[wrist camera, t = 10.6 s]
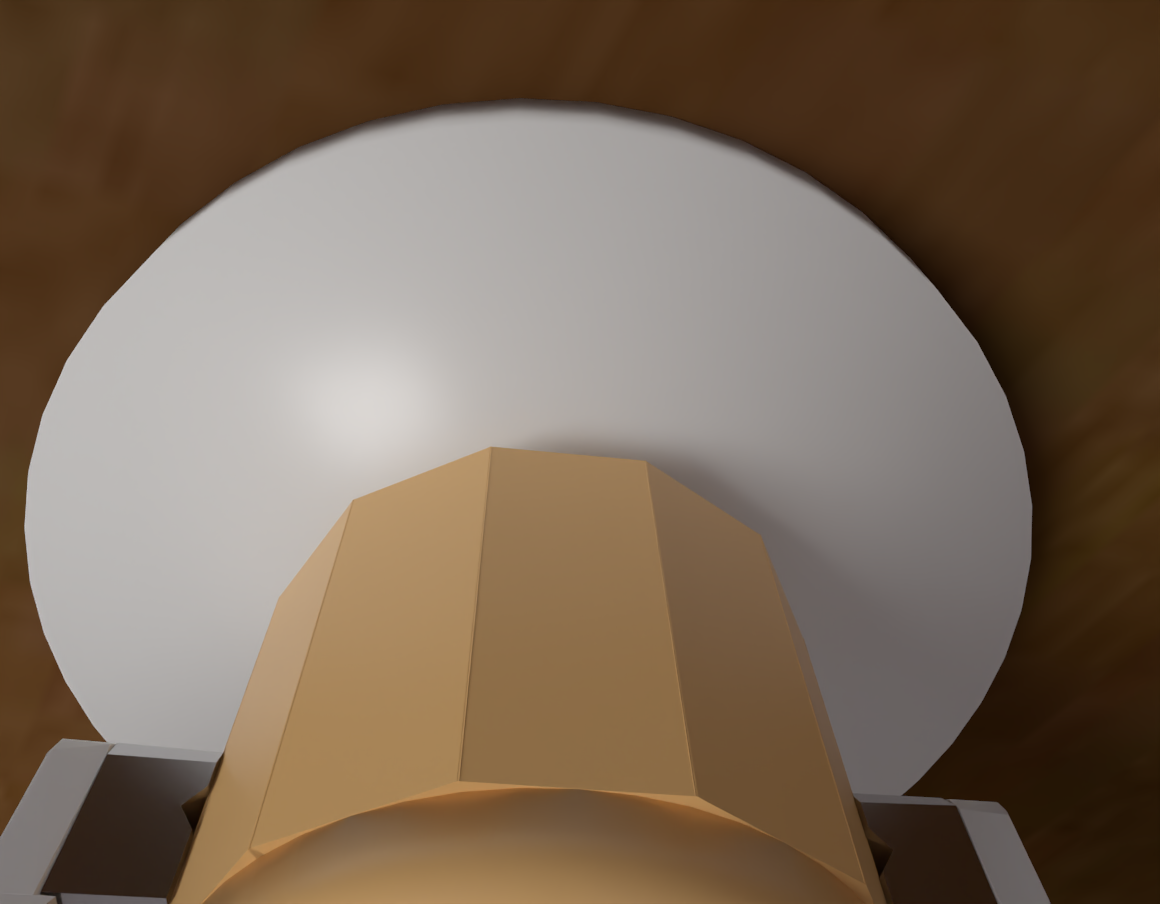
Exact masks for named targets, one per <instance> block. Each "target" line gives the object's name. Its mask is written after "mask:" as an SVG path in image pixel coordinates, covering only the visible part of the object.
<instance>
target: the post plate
mask: <svg viewBox="0 0 1160 904" xmlns="http://www.w3.org/2000/svg"><path fill="white" fill-rule="evenodd" d="M491 446H492V447H501V448H512V449H523V450H534V451H545V452H556V453H567V454H578V455H588V456H599V457H610V458H621V459H632V460H643V461H647V462H648V463H650V464H652V465H653V466H655V467H656V468H658V469H659V470H661V471H662V472H664V473H665V474H667V475H669V476H670V477H672V478H673V479H675V480H676V481H678V482H679V483H681V484H682V485H684V486H686V487H687V488H689V489H690V490H692V491H693V492H695V493H696V494H698V495H699V496H701V497H703V498H704V499H706V500H707V501H709V502H710V503H712V504H713V505H715V506H716V507H718V508H720V509H721V510H723V511H724V512H726V513H727V514H729V515H730V516H732V517H733V518H735V519H737V520H738V521H740V522H741V523H743V524H744V525H746V526H747V527H749V528H750V529H752V530H754V531H755V532H757V533H758V534H760V535H761V536H762V540H763V542H764V545H765V547H766V549H767V552H768V554H769V557H770V559H771V562H772V564H773V566H774V569H775V571H776V574H777V576H778V578H779V581H780V583H781V586H782V588H783V591H784V593H785V595H786V598H787V600H788V603H789V605H790V608H791V610H792V612H793V615H794V617H795V620H796V622H797V625H798V627H799V629H800V632H801V634H802V637H803V638H804V641H805V644H806V648H807V651H808V654H809V657H810V660H811V663H812V667H813V670H814V673H815V676H816V679H817V682H818V686H819V689H820V692H821V695H822V698H823V701H824V705H825V708H826V711H827V714H828V717H829V720H830V724H831V727H832V730H833V733H834V736H835V739H836V743H837V746H838V749H839V752H840V755H841V758H842V762H843V765H844V768H845V771H846V774H847V777H848V781H849V784H850V787H851V790H852V793H858V794H877V795H895V796H901V795H903V794H904V793H905V792H906V791H907V790H908V789H909V788H911V787H912V786H913V785H914V784H915V783H916V782H918V781H919V780H920V778H921V777H922V776H923V775H924V774H925V773H926V772H927V771H928V770H929V769H930V768H931V766H932V765H933V764H934V763H935V762H936V761H937V760H938V759H939V758H940V757H941V756H942V754H943V753H944V752H945V751H946V750H947V749H948V748H949V747H950V746H951V745H952V743H953V742H954V741H955V739H956V738H957V736H958V735H959V734H960V732H961V731H962V729H963V728H964V727H965V725H966V724H967V722H968V721H969V719H970V718H971V717H972V715H973V714H974V712H975V711H976V710H977V708H978V707H979V705H980V704H981V702H982V701H983V699H984V697H985V695H986V693H987V691H988V689H989V687H990V685H991V683H992V681H993V680H994V678H995V676H996V674H997V672H998V670H999V668H1000V666H1001V664H1002V662H1003V660H1004V658H1005V656H1006V653H1007V650H1008V647H1009V644H1010V642H1011V639H1012V636H1013V633H1014V630H1015V627H1016V624H1017V622H1018V619H1019V616H1020V613H1021V610H1022V605H1023V600H1024V594H1025V589H1026V583H1027V578H1028V573H1029V567H1030V562H1031V535H1032V502H1031V495H1030V488H1029V482H1028V475H1027V468H1026V461H1025V455H1024V450H1023V447H1022V444H1021V441H1020V438H1019V434H1018V431H1017V428H1016V425H1015V422H1014V419H1013V416H1012V413H1011V410H1010V407H1009V404H1008V401H1007V398H1006V395H1005V394H1004V392H1003V390H1002V388H1001V386H1000V384H999V382H998V380H997V378H996V377H995V375H994V373H993V371H992V369H991V367H990V365H989V363H988V361H987V359H986V358H985V356H984V354H983V352H982V350H981V348H980V346H979V344H978V342H977V341H976V340H975V338H974V337H973V336H972V335H971V333H970V332H969V331H968V329H967V328H966V327H965V325H964V324H963V323H962V321H961V320H960V319H959V317H958V316H957V315H956V314H955V312H954V311H953V310H952V308H951V307H950V306H949V304H948V303H947V302H946V300H945V299H944V298H943V296H942V295H941V294H940V293H939V291H938V290H937V289H936V288H935V286H934V285H933V284H932V283H931V282H930V281H929V279H928V278H927V277H926V276H925V275H924V274H923V272H922V271H921V270H920V269H919V268H918V267H917V265H916V264H915V263H914V262H913V261H912V260H911V258H910V257H909V256H908V255H907V254H906V253H905V252H904V251H903V250H901V249H900V248H899V247H898V246H897V245H896V244H895V243H894V242H893V241H892V240H891V239H890V238H889V237H888V236H887V235H886V234H885V233H884V232H883V231H882V230H881V229H879V228H878V227H877V226H876V225H875V224H874V223H873V222H872V221H871V220H870V219H869V218H868V217H867V216H866V215H865V214H864V213H863V212H862V211H860V210H859V209H857V208H856V207H854V206H853V205H852V204H850V203H849V202H847V201H846V200H844V199H843V198H842V197H840V196H839V195H837V194H836V193H834V192H833V191H832V190H830V189H829V188H827V187H826V186H824V185H823V184H822V183H820V182H819V181H817V180H816V179H815V178H813V177H812V176H810V175H809V174H807V173H806V172H804V171H802V170H800V169H798V168H796V167H794V166H792V165H790V164H788V163H786V162H784V161H782V160H780V159H778V158H776V157H774V156H772V155H770V154H768V153H766V152H764V151H762V150H760V149H758V148H756V147H754V146H752V145H750V144H748V143H746V142H744V141H742V140H740V139H737V138H734V137H731V136H728V135H725V134H722V133H719V132H716V131H713V130H710V129H707V128H704V127H701V126H698V125H695V124H692V123H689V122H686V121H683V120H680V119H677V118H674V117H671V116H666V115H661V114H656V113H651V112H645V111H640V110H635V109H629V108H624V107H619V106H614V105H608V104H603V103H598V102H583V101H564V100H545V99H526V98H515V99H503V100H491V101H479V102H467V103H455V104H443V105H438V106H434V107H429V108H425V109H420V110H416V111H411V112H407V113H402V114H398V115H393V116H389V117H384V118H380V119H375V120H371V121H367V122H364V123H362V124H359V125H356V126H354V127H351V128H348V129H346V130H343V131H340V132H338V133H335V134H333V135H330V136H327V137H325V138H322V139H319V140H317V141H314V142H311V143H309V144H306V145H303V146H301V147H298V148H296V149H295V150H293V151H291V152H289V153H287V154H285V155H284V156H282V157H280V158H278V159H276V160H275V161H273V162H271V163H269V164H267V165H266V166H264V167H262V168H260V169H258V170H257V171H255V172H253V173H251V174H249V175H247V176H246V177H244V178H242V179H240V180H238V181H237V182H235V183H234V184H233V185H231V186H230V187H229V188H227V189H226V190H225V191H223V192H222V193H221V194H220V195H218V196H217V197H216V198H214V199H213V200H212V201H210V202H209V203H208V204H207V205H205V206H204V207H203V208H201V209H200V210H199V211H197V212H196V213H195V214H194V215H192V216H191V217H190V218H188V219H187V220H186V221H184V222H183V223H182V224H181V225H180V226H179V227H178V228H177V229H176V230H175V231H174V232H173V233H172V234H171V235H170V236H169V237H168V239H167V240H166V241H165V242H164V243H163V244H162V245H161V246H160V247H159V248H158V249H157V250H156V251H155V252H154V253H153V254H152V255H151V256H150V257H149V258H148V259H147V260H146V262H145V263H144V264H143V265H142V266H141V267H140V268H139V269H138V270H137V271H136V272H135V273H134V274H133V275H132V276H131V277H130V278H129V279H128V281H127V282H126V283H125V284H124V285H123V286H122V287H121V288H120V289H119V290H118V291H117V292H116V293H115V294H114V295H113V296H112V297H111V298H110V300H109V301H108V302H107V303H106V304H105V305H104V306H103V307H102V309H101V310H100V312H99V313H98V315H97V316H96V318H95V319H94V321H93V322H92V324H91V325H90V327H89V328H88V330H87V331H86V333H85V334H84V336H83V337H82V339H81V340H80V342H79V343H78V345H77V346H76V348H75V349H74V351H73V352H72V353H71V355H70V356H69V358H68V359H67V362H66V364H65V366H64V368H63V371H62V373H61V375H60V377H59V379H58V382H57V384H56V386H55V388H54V391H53V393H52V395H51V397H50V400H49V402H48V404H47V406H46V409H45V411H44V413H43V415H42V419H41V423H40V427H39V431H38V435H37V439H36V443H35V447H34V451H33V455H32V459H31V463H30V467H29V471H28V484H27V498H26V513H25V527H24V528H25V538H26V548H27V558H28V567H29V577H30V584H31V587H32V591H33V595H34V598H35V602H36V606H37V610H38V613H39V617H40V621H41V624H42V628H43V632H44V634H45V637H46V639H47V641H48V643H49V646H50V648H51V650H52V652H53V655H54V657H55V659H56V661H57V664H58V666H59V668H60V670H61V673H62V675H63V677H64V679H65V681H66V683H67V685H68V686H69V688H70V689H71V691H72V693H73V694H74V696H75V697H76V699H77V700H78V702H79V704H80V705H81V707H82V708H83V710H84V712H85V713H86V715H87V716H88V718H89V720H90V721H91V723H92V724H93V726H94V727H95V728H96V729H97V731H98V732H99V733H100V734H101V735H102V737H103V738H104V739H105V740H106V741H107V743H125V744H136V745H147V746H158V747H169V748H179V749H190V750H201V751H212V752H224V749H225V746H226V744H227V741H228V738H229V735H230V732H231V730H232V727H233V724H234V721H235V718H236V716H237V713H238V710H239V707H240V705H241V702H242V699H243V696H244V693H245V691H246V688H247V685H248V682H249V679H250V677H251V674H252V671H253V668H254V666H255V663H256V660H257V657H258V654H259V652H260V649H261V646H262V643H263V640H264V638H265V635H266V632H267V629H268V627H269V624H270V621H271V618H272V615H273V613H274V610H275V607H276V604H277V601H278V599H279V597H280V596H281V594H282V593H283V592H284V590H285V589H286V588H287V586H288V585H289V584H290V582H291V581H292V580H293V578H294V577H295V576H296V575H297V573H298V572H299V571H300V569H301V568H302V567H303V565H304V564H305V563H306V561H307V560H308V559H309V557H310V556H311V555H312V553H313V552H314V551H315V549H316V548H317V547H318V546H319V544H320V543H321V542H322V540H323V539H324V538H325V536H326V535H327V534H328V532H329V531H330V530H331V528H332V527H333V526H334V524H335V523H336V522H337V520H338V519H339V518H340V517H341V515H342V514H343V513H344V511H345V510H346V509H347V507H348V506H349V505H350V503H351V502H352V500H353V499H357V498H359V497H362V496H364V495H367V494H370V493H372V492H375V491H377V490H380V489H382V488H385V487H388V486H390V485H393V484H395V483H398V482H401V481H403V480H406V479H408V478H411V477H414V476H416V475H419V474H421V473H424V472H426V471H429V470H432V469H434V468H437V467H439V466H442V465H445V464H447V463H450V462H452V461H455V460H457V459H460V458H463V457H465V456H468V455H470V454H473V453H476V452H478V451H481V450H483V449H486V448H489V447H491Z"/></svg>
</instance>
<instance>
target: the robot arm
mask: <svg viewBox="0 0 1160 904" xmlns="http://www.w3.org/2000/svg"><path fill="white" fill-rule="evenodd" d="M223 754H224V753H223V752H212V751H201V750H190V749H179V748H169V747H158V746H147V745H136V744H125V743H107V742H96V741H84V740H72V739H61V740H60V741H59V742H58V743H57V744H56V745H55V746H54V747H53V748H52V749H51V750H50V751H49V752H48V753H47V755H46V756H45V758H44V760H43V762H42V763H41V765H40V767H39V769H38V771H37V772H36V774H35V776H34V778H33V780H32V781H31V783H30V785H29V787H28V789H27V790H26V792H25V794H24V796H23V798H22V799H21V801H20V803H19V805H18V807H17V808H16V810H15V812H14V814H13V816H12V817H11V819H10V821H9V823H8V825H7V826H6V828H5V830H4V832H3V834H2V835H1V837H0V904H169V903H170V900H171V897H172V895H173V892H174V889H175V887H176V884H177V881H178V879H179V876H180V873H181V870H182V868H183V865H184V862H185V860H186V857H187V854H188V851H189V849H190V846H191V843H192V840H193V836H194V833H195V830H196V827H197V824H198V822H199V819H200V816H201V813H202V810H203V808H204V805H205V802H206V799H207V797H208V795H209V793H210V790H211V787H212V784H213V782H214V779H215V776H216V773H217V770H218V768H219V765H220V762H221V760H222V757H223ZM853 797H854V800H855V804H856V807H857V810H858V813H859V817H860V820H861V823H862V826H863V830H864V833H865V836H866V838H867V841H868V844H869V847H870V850H871V853H872V857H873V860H874V863H875V866H876V869H877V872H878V876H879V880H880V884H881V887H882V890H883V893H884V896H885V899H886V902H887V904H1051V903H1050V901H1049V898H1048V896H1047V894H1046V892H1045V890H1044V888H1043V886H1042V884H1041V882H1040V880H1039V878H1038V875H1037V873H1036V871H1035V869H1034V867H1033V865H1032V863H1031V861H1030V859H1029V857H1028V855H1027V852H1026V850H1025V848H1024V846H1023V844H1022V842H1021V840H1020V838H1019V836H1018V834H1017V832H1016V829H1015V827H1014V825H1013V823H1012V821H1011V819H1010V817H1009V815H1008V813H1007V811H1006V810H1005V809H1004V808H1003V807H1002V806H1001V805H1000V804H999V803H998V802H987V801H971V800H955V799H947V800H944V799H942V798H932V797H914V796H895V795H877V794H858V793H853Z"/></svg>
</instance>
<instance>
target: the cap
mask: <svg viewBox="0 0 1160 904" xmlns="http://www.w3.org/2000/svg"><path fill="white" fill-rule="evenodd" d="M223 753H224V754H223V757H222V760H221V762H220V765H219V768H218V770H217V773H216V776H215V779H214V782H213V784H212V787H211V790H210V793H209V795H208V797H207V799H206V802H205V805H204V808H203V810H202V813H201V816H200V819H199V822H198V824H197V827H196V830H195V833H194V836H193V840H192V843H191V846H190V849H189V851H188V854H187V857H186V860H185V862H184V865H183V868H182V870H181V873H180V876H179V879H178V881H177V884H176V887H175V889H174V892H173V895H172V897H171V900H170V903H169V904H887V902H886V899H885V896H884V893H883V890H882V887H881V884H880V880H879V876H878V872H877V869H876V866H875V863H874V860H873V857H872V853H871V850H870V847H869V844H868V841H867V838H866V836H865V833H864V830H863V826H862V823H861V820H860V817H859V813H858V810H857V807H856V804H855V800H854V797H853V793H852V790H851V787H850V784H849V781H848V777H847V774H846V771H845V768H844V765H843V762H842V758H841V755H840V752H839V749H838V746H837V743H836V739H835V736H834V733H833V730H832V727H831V724H830V720H829V717H828V714H827V711H826V708H825V705H824V701H823V698H822V695H821V692H820V689H819V686H818V682H817V679H816V676H815V673H814V670H813V667H812V663H811V660H810V657H809V654H808V651H807V648H806V644H805V641H804V638H803V637H802V634H801V632H800V629H799V627H798V625H797V622H796V620H795V617H794V615H793V612H792V610H791V608H790V605H789V603H788V600H787V598H786V595H785V593H784V591H783V588H782V586H781V583H780V581H779V578H778V576H777V574H776V571H775V569H774V566H773V564H772V562H771V559H770V557H769V554H768V552H767V549H766V547H765V545H764V542H763V540H762V536H761V535H760V534H758V533H757V532H755V531H754V530H752V529H750V528H749V527H747V526H746V525H744V524H743V523H741V522H740V521H738V520H737V519H735V518H733V517H732V516H730V515H729V514H727V513H726V512H724V511H723V510H721V509H720V508H718V507H716V506H715V505H713V504H712V503H710V502H709V501H707V500H706V499H704V498H703V497H701V496H699V495H698V494H696V493H695V492H693V491H692V490H690V489H689V488H687V487H686V486H684V485H682V484H681V483H679V482H678V481H676V480H675V479H673V478H672V477H670V476H669V475H667V474H665V473H664V472H662V471H661V470H659V469H658V468H656V467H655V466H653V465H652V464H650V463H648V462H647V461H643V460H632V459H621V458H610V457H599V456H588V455H578V454H567V453H556V452H545V451H534V450H523V449H512V448H501V447H492V446H491V447H489V448H486V449H483V450H481V451H478V452H476V453H473V454H470V455H468V456H465V457H463V458H460V459H457V460H455V461H452V462H450V463H447V464H445V465H442V466H439V467H437V468H434V469H432V470H429V471H426V472H424V473H421V474H419V475H416V476H414V477H411V478H408V479H406V480H403V481H401V482H398V483H395V484H393V485H390V486H388V487H385V488H382V489H380V490H377V491H375V492H372V493H370V494H367V495H364V496H362V497H359V498H357V499H353V500H352V502H351V503H350V505H349V506H348V507H347V509H346V510H345V511H344V513H343V514H342V515H341V517H340V518H339V519H338V520H337V522H336V523H335V524H334V526H333V527H332V528H331V530H330V531H329V532H328V534H327V535H326V536H325V538H324V539H323V540H322V542H321V543H320V544H319V546H318V547H317V548H316V549H315V551H314V552H313V553H312V555H311V556H310V557H309V559H308V560H307V561H306V563H305V564H304V565H303V567H302V568H301V569H300V571H299V572H298V573H297V575H296V576H295V577H294V578H293V580H292V581H291V582H290V584H289V585H288V586H287V588H286V589H285V590H284V592H283V593H282V594H281V596H280V597H279V599H278V601H277V604H276V607H275V610H274V613H273V615H272V618H271V621H270V624H269V627H268V629H267V632H266V635H265V638H264V640H263V643H262V646H261V649H260V652H259V654H258V657H257V660H256V663H255V666H254V668H253V671H252V674H251V677H250V679H249V682H248V685H247V688H246V691H245V693H244V696H243V699H242V702H241V705H240V707H239V710H238V713H237V716H236V718H235V721H234V724H233V727H232V730H231V732H230V735H229V738H228V741H227V744H226V746H225V749H224V752H223Z"/></svg>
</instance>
